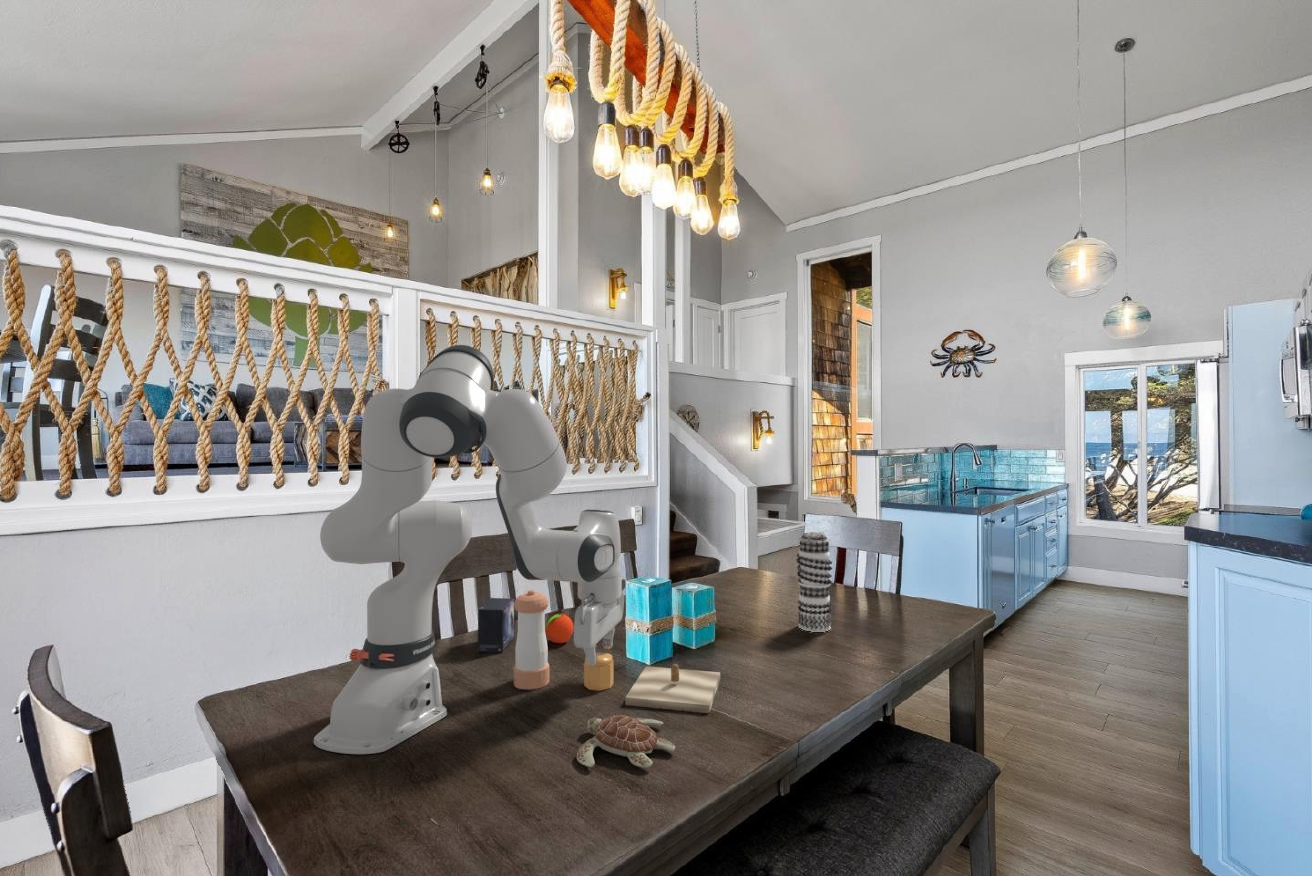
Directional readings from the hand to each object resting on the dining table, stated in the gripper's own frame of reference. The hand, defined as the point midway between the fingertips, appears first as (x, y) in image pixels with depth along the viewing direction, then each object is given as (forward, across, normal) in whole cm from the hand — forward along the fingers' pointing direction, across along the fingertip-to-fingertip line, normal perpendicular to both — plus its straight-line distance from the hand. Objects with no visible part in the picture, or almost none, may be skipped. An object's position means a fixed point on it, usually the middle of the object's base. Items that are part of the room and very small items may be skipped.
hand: (600, 656), depth 125 cm
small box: (+6, +17, +33) cm, 38 cm away
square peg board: (+6, +1, -16) cm, 17 cm away
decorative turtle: (+7, -22, -12) cm, 26 cm away
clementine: (+6, +22, +19) cm, 30 cm away
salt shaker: (+6, -2, +14) cm, 16 cm away
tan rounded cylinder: (+6, +1, 0) cm, 6 cm away
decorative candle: (+6, +50, -42) cm, 66 cm away
